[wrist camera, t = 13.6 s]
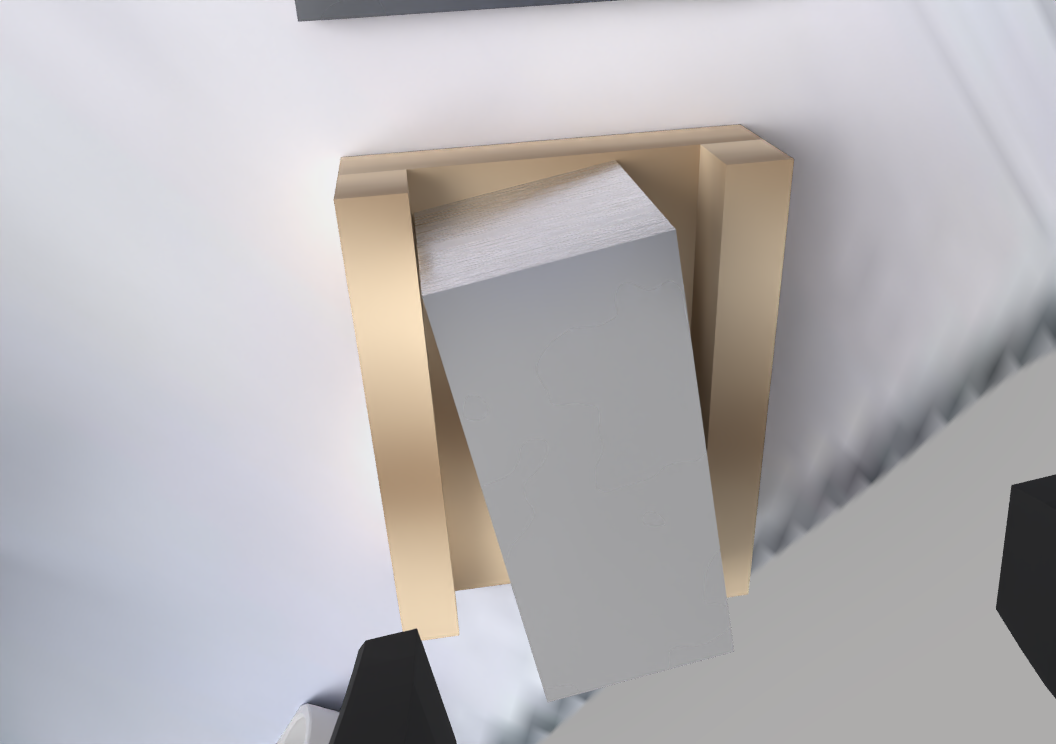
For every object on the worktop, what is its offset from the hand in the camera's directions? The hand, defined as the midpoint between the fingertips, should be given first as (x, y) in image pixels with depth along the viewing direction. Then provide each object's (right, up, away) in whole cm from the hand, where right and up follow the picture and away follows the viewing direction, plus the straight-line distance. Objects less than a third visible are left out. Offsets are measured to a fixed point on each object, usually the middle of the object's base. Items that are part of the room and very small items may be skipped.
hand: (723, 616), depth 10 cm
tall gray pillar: (-2, +3, +8) cm, 8 cm away
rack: (-2, +3, +9) cm, 9 cm away
